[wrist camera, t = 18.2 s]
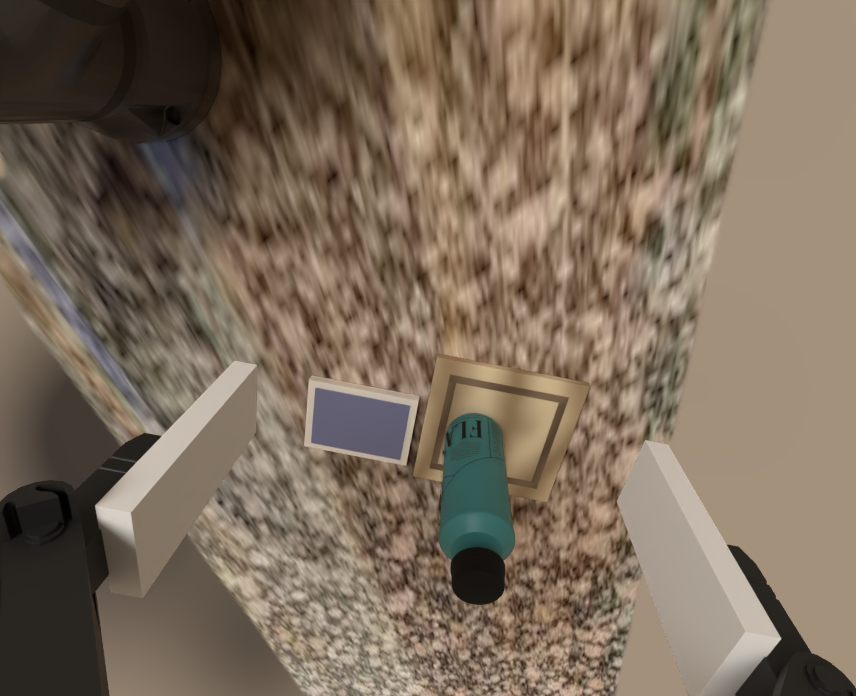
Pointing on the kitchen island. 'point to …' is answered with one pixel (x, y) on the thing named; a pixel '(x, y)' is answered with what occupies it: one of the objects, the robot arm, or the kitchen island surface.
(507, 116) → the kitchen island surface
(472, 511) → the beverage bottle
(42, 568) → the robot arm
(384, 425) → the ink pad
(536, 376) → the mark board
